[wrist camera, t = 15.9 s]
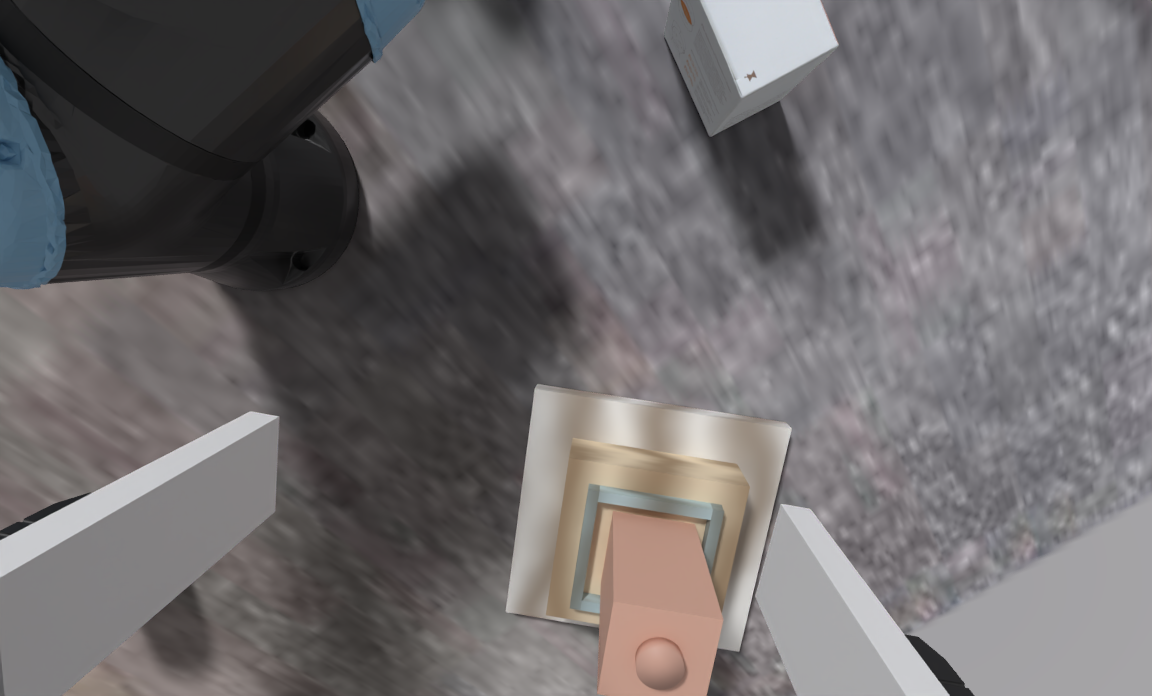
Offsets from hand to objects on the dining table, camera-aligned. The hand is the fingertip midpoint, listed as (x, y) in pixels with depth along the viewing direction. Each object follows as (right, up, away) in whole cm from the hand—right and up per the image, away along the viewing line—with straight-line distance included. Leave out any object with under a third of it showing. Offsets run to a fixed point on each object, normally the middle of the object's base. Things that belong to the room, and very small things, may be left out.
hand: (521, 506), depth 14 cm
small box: (+12, +24, +24) cm, 36 cm away
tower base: (+7, -10, +31) cm, 33 cm away
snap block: (+7, -11, +25) cm, 29 cm away
